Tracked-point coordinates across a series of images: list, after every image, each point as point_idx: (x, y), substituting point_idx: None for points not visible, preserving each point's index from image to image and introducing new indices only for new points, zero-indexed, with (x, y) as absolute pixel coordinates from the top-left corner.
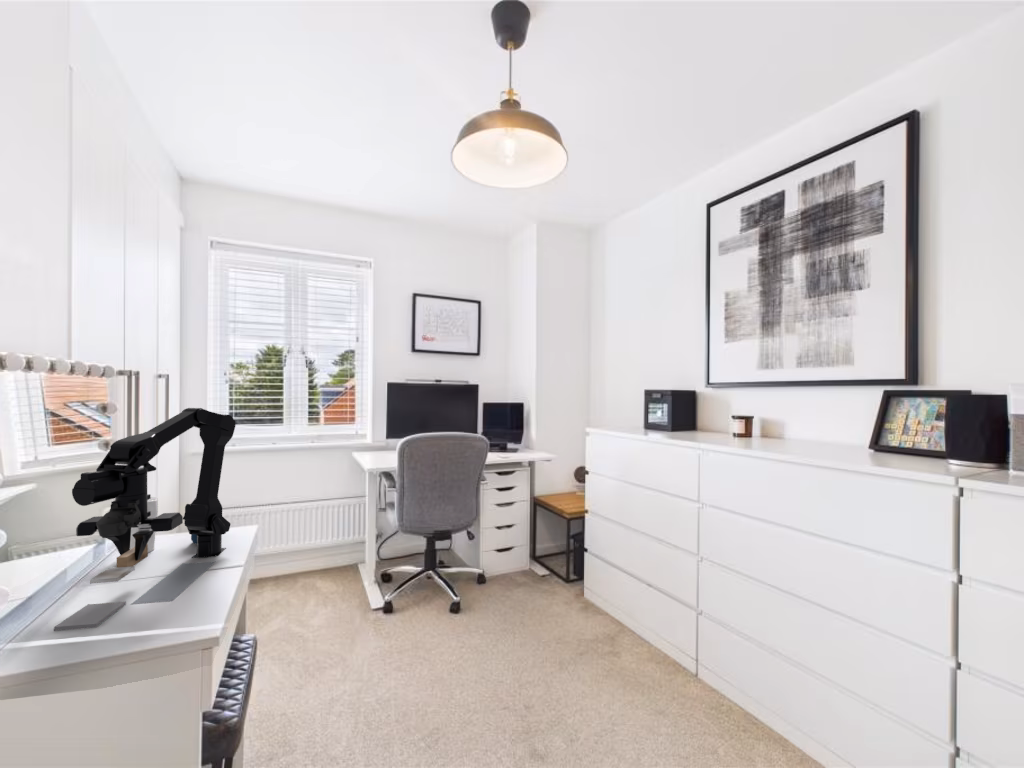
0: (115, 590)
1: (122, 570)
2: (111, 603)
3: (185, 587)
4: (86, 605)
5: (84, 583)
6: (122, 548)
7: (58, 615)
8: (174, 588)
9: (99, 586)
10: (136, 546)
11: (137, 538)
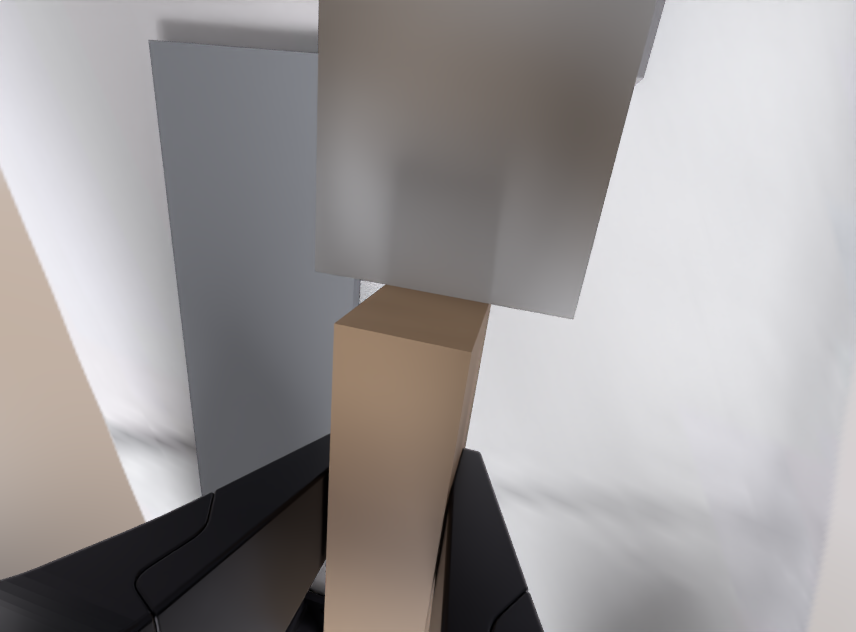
0: (564, 375)
1: (380, 168)
2: None
3: (179, 231)
4: (647, 50)
5: (791, 560)
6: (446, 566)
7: (835, 51)
8: (228, 240)
9: (682, 476)
10: (237, 515)
11: (22, 629)
